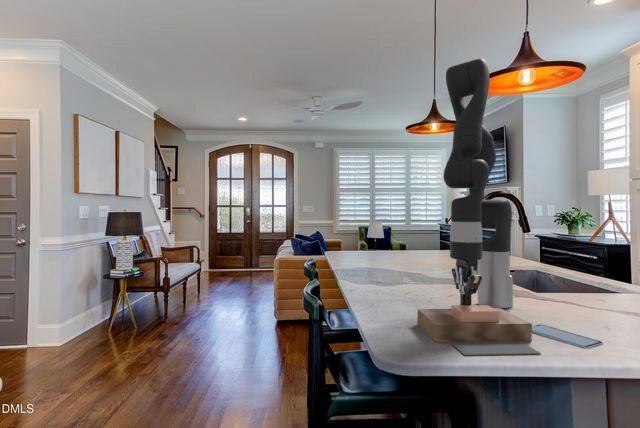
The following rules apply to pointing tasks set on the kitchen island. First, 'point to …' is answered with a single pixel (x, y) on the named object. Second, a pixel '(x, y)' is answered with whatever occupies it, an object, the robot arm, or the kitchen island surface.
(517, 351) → the rubber mat
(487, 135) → the robot arm
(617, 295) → the kitchen island surface
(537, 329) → the smartphone
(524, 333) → the block
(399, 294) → the kitchen island surface
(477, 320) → the terracotta tile
